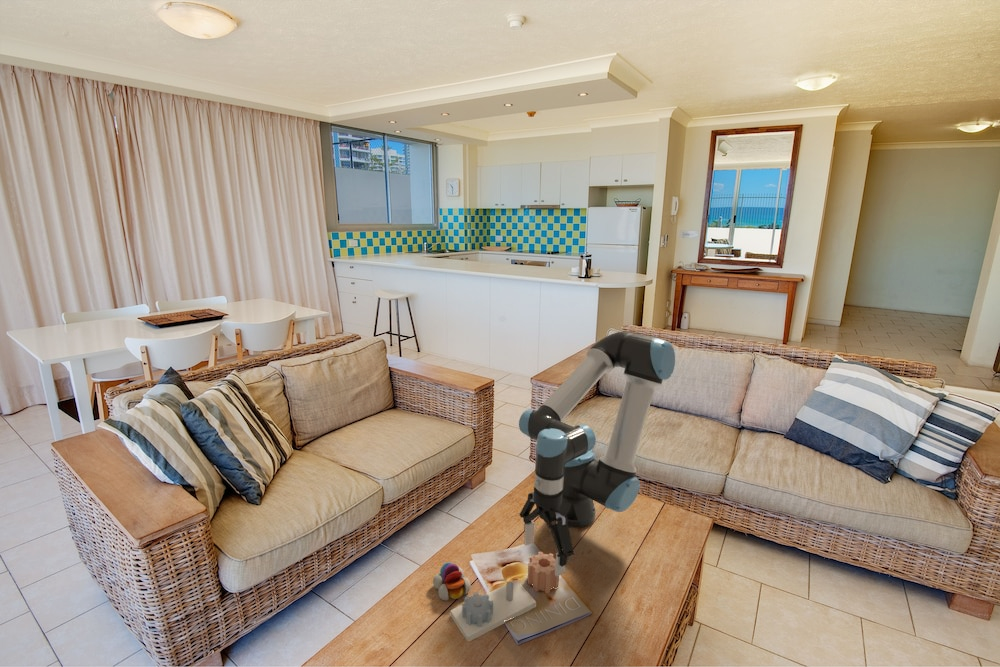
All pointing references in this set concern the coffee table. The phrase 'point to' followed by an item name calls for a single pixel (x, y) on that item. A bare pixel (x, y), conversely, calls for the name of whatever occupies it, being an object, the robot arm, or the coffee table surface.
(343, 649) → the coffee table surface
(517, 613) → the gear board
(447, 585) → the white-domed colorful disc toy
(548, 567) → the gear
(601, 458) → the robot arm
